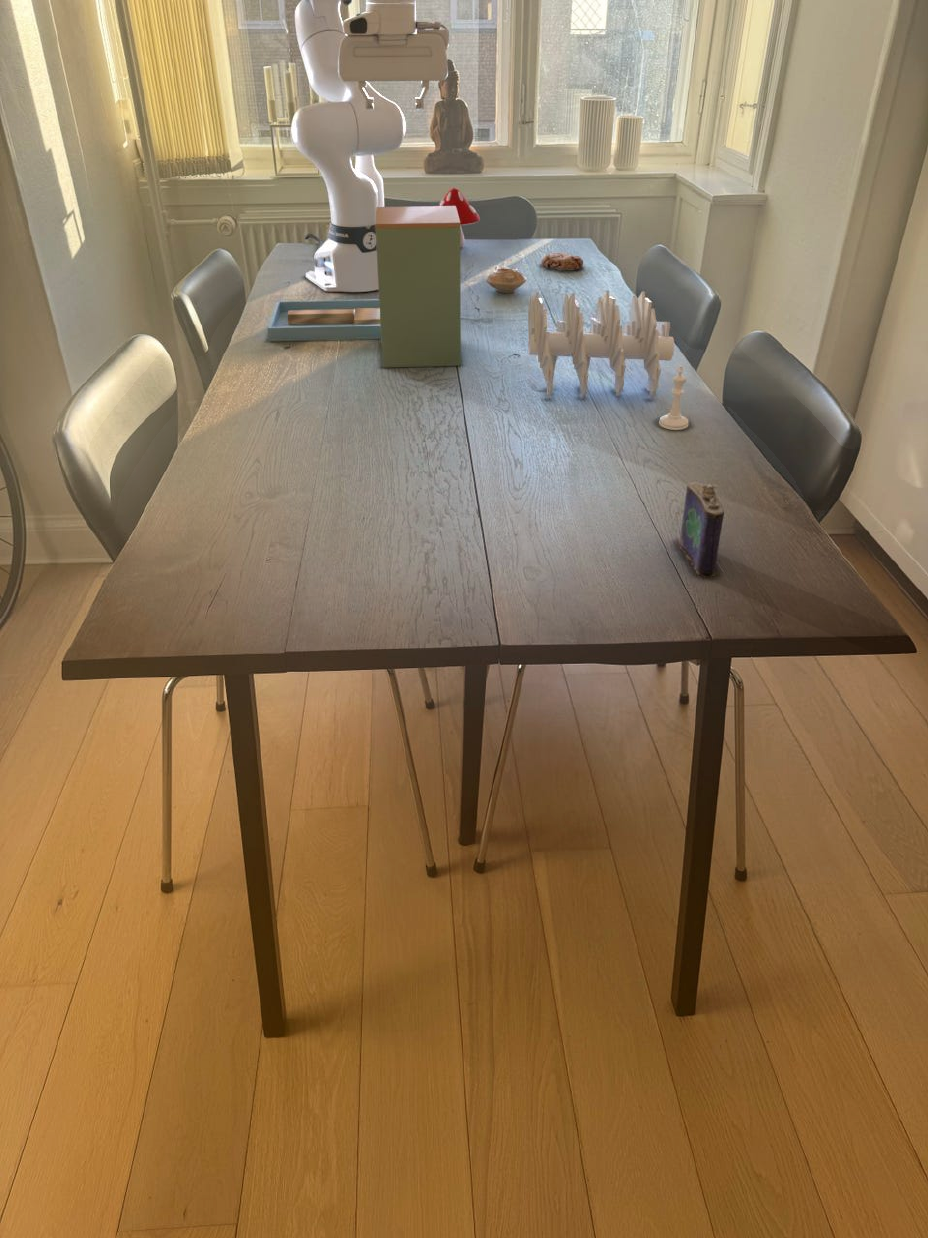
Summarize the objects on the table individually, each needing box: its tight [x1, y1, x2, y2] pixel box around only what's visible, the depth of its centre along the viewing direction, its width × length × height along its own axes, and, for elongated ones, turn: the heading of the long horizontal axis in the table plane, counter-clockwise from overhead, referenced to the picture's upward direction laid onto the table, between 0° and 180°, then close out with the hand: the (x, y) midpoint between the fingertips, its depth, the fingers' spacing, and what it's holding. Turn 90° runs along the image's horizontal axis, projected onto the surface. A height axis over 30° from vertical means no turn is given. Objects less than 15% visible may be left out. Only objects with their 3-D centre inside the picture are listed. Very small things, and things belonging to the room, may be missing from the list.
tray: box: [267, 298, 381, 342], centre depth 202 cm, size 32×19×3 cm, turn 94°
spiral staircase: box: [527, 290, 675, 399], centre depth 166 cm, size 18×18×25 cm
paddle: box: [288, 308, 380, 325], centre depth 201 cm, size 23×8×2 cm, turn 93°
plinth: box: [375, 205, 462, 369], centre depth 180 cm, size 15×14×26 cm
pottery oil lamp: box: [485, 265, 527, 294], centre depth 223 cm, size 9×12×7 cm
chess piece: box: [658, 365, 690, 431], centre depth 156 cm, size 5×5×10 cm
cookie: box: [540, 252, 584, 271], centre depth 240 cm, size 10×11×3 cm
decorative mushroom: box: [437, 187, 481, 248], centre depth 253 cm, size 14×14×15 cm
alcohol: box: [354, 155, 385, 207], centre depth 243 cm, size 9×9×30 cm
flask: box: [678, 481, 725, 578], centre depth 120 cm, size 9×3×11 cm, turn 8°
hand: (394, 108), depth 179 cm, fingers open, 8 cm apart
